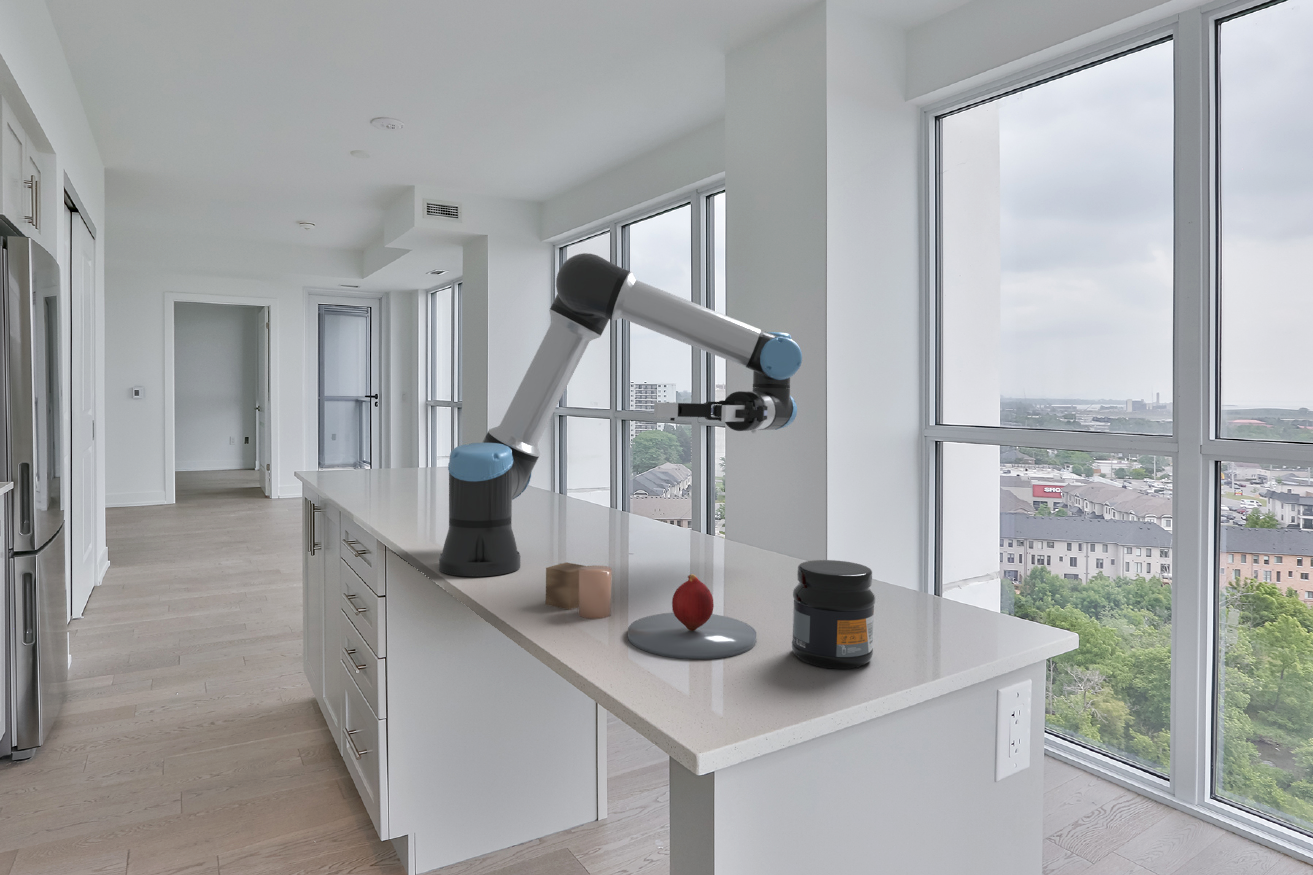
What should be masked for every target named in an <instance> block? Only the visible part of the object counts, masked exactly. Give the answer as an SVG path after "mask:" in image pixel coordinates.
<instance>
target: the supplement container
mask: <svg viewBox="0 0 1313 875" xmlns="http://www.w3.org/2000/svg"><path fill="white" fill-rule="evenodd" d="M796 579H797V581H798V584H797V585H796V586H795V587H794V588H793V590H792V598H793V609H792V610H793V611H792V613H793V614H792V640H791V650H792V652H793V654H794V655H795V656H796V657H797V658H798V659H799V660H801V661H802V662H805V663H807V664H810V665H812V666H816V667H819V668H827V669H836V670H837V669H838V670H847V669H856V668H859V666H860V667H861V666H864V665H865V664H866V665H867V663H869V662H870V661H871V659H872V657H873V654H874V648H873V644H874V641H873V640H874V617H875V603H876V596H875V594H874V592H873V590H872V589H871V588H870V587H872V585H873V584H872V583H873V570H872V569H871V568H870V567H868V566H866V565H863V564H860V563H856V562H851V561H846V560H835V559H834V560H833V559H815V560H814V559H813V560H807V561H804V562H801V563H799V564H798V565H797V576H796ZM855 667H856V668H855Z"/></svg>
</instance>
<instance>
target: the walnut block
mask: <svg viewBox="0 0 1313 875" xmlns="http://www.w3.org/2000/svg"><path fill="white" fill-rule="evenodd" d="M584 566H585V565H583V564H577V563H574V562H573V563H572V562H562V563H559V564H555V565H550V566H547V567H545V605H547V606H551V607H556V608H560V609H565V610H568V611H570V610H573V609H576V608H578V601H579V568H581V567H584Z"/></svg>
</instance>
